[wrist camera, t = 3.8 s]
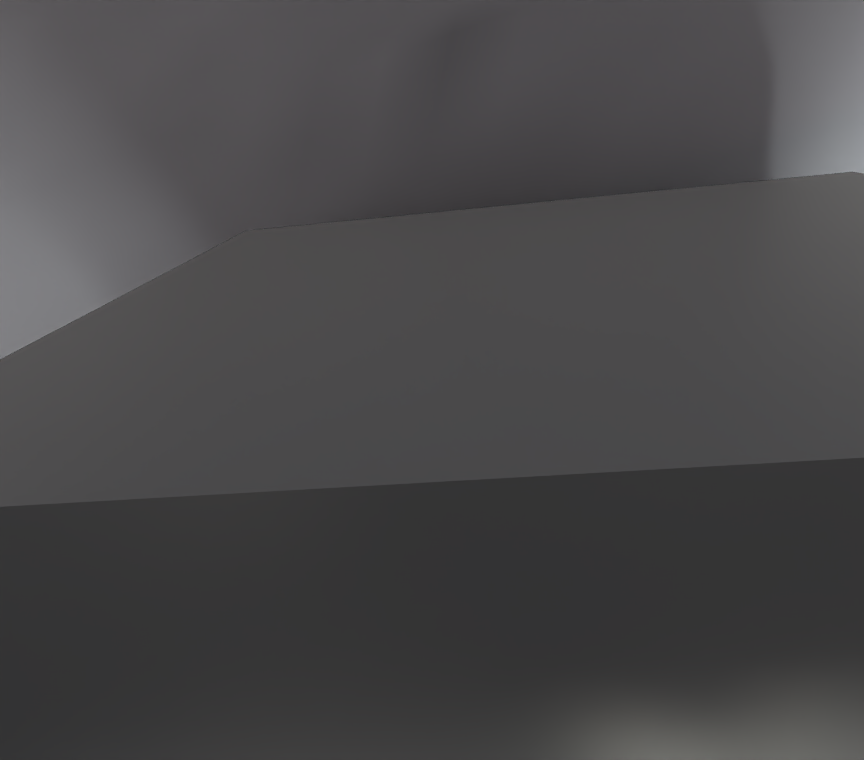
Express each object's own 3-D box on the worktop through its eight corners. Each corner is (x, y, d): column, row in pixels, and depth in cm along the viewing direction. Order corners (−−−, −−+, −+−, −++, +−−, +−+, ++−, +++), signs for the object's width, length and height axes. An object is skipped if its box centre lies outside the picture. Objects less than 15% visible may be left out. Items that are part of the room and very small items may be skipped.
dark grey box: (791, 655, 11) (1211, 1384, 5) (336, 668, 12) (172, 1314, 5) (853, 171, 8) (2129, 383, 2) (246, 230, 9) (-312, 523, 3)
